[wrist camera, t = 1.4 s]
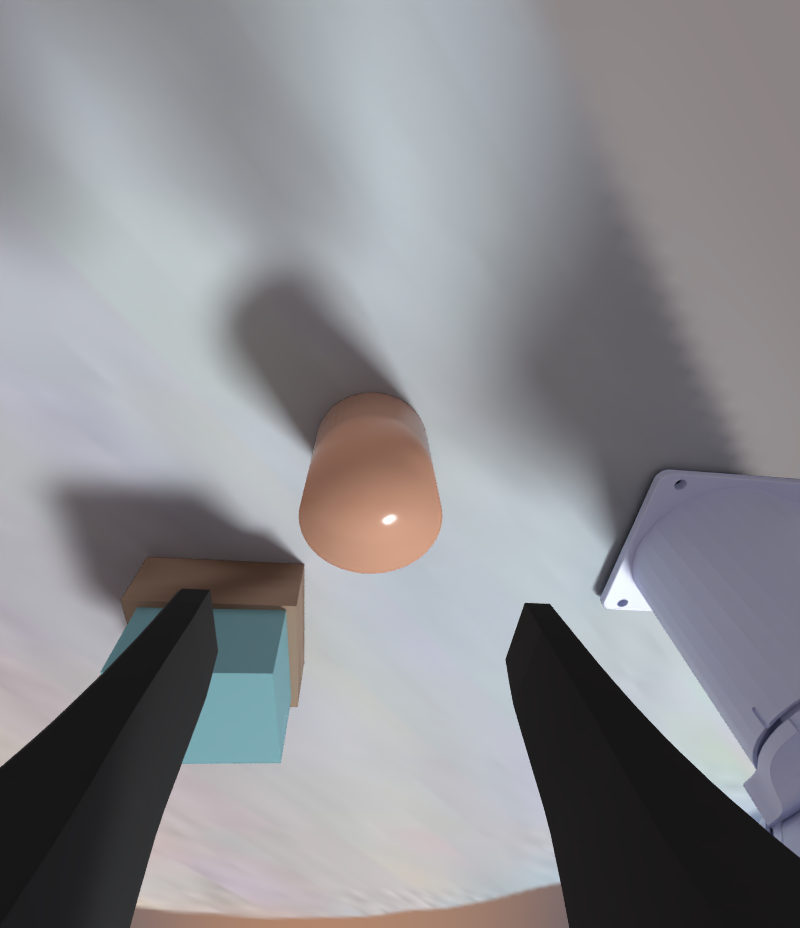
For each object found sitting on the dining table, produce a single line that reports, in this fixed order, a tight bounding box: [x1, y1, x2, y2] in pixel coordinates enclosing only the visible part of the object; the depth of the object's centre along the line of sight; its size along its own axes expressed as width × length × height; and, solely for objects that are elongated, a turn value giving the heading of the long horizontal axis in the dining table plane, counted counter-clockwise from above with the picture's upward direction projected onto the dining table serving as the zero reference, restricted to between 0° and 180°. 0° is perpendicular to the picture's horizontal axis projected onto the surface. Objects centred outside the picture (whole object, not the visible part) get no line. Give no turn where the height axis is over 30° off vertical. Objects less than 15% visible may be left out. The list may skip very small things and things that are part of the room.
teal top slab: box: [101, 607, 291, 764], centre depth 20 cm, size 6×6×3 cm
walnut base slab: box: [121, 557, 304, 707], centre depth 22 cm, size 7×7×3 cm
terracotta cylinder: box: [299, 392, 442, 573], centre depth 17 cm, size 4×4×5 cm
